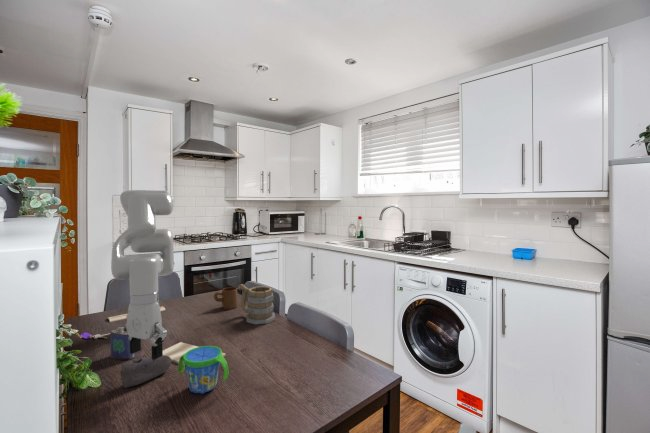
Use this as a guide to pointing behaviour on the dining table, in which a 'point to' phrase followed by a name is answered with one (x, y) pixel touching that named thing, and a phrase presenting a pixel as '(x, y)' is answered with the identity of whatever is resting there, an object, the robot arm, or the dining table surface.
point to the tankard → (258, 304)
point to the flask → (120, 345)
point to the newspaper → (125, 316)
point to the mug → (227, 297)
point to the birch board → (179, 351)
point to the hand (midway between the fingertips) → (146, 354)
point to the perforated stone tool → (143, 370)
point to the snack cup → (203, 368)
